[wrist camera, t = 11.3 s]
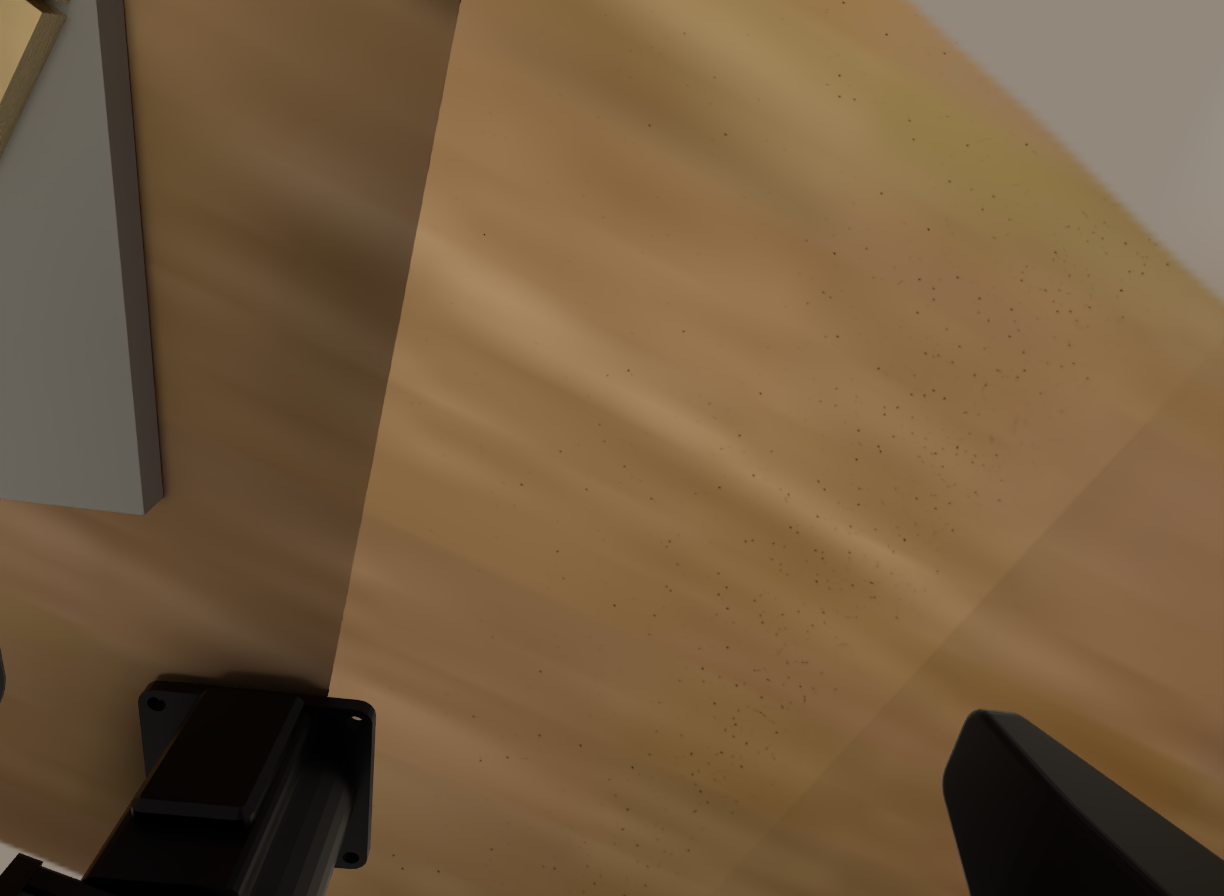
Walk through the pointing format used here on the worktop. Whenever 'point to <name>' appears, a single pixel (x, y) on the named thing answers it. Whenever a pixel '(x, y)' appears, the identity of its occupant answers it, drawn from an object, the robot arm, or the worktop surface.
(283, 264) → the worktop surface
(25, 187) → the base
